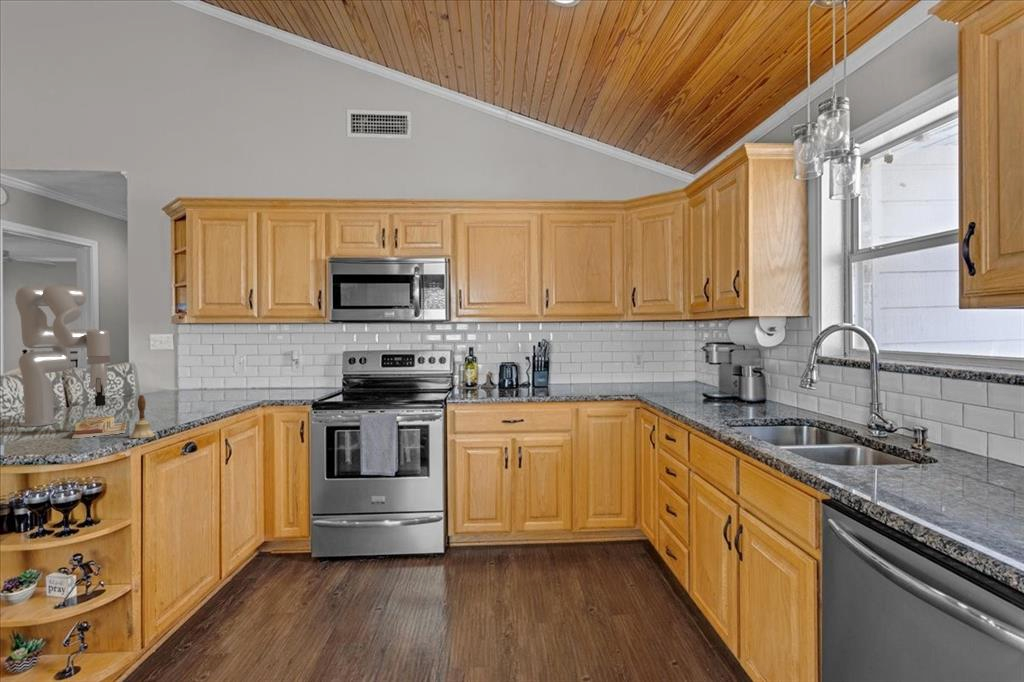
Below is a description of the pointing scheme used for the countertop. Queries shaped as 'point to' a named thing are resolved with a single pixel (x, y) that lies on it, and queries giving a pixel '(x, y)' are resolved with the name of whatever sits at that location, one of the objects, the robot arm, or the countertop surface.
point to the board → (113, 430)
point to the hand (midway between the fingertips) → (100, 405)
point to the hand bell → (142, 422)
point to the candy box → (94, 425)
